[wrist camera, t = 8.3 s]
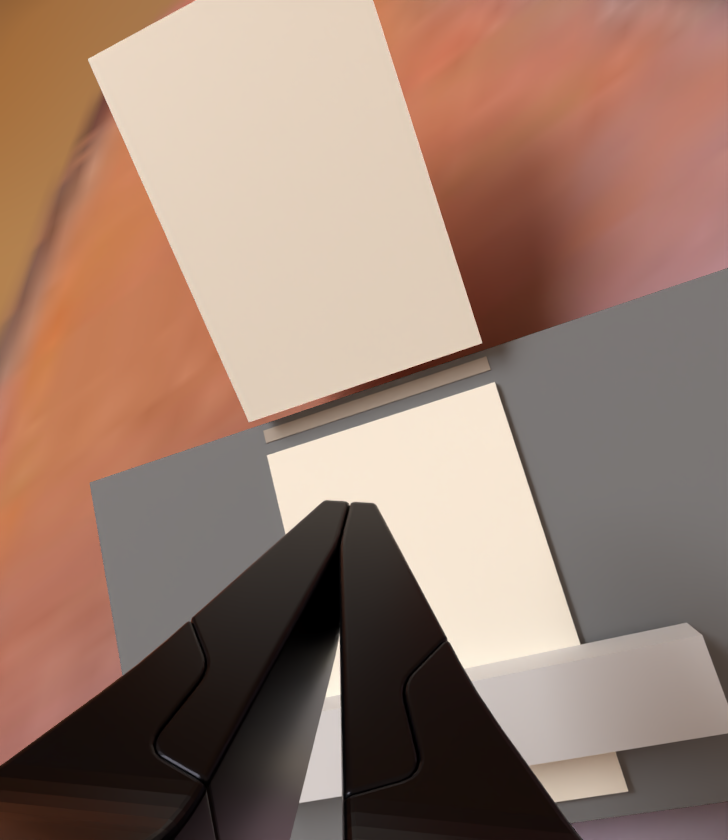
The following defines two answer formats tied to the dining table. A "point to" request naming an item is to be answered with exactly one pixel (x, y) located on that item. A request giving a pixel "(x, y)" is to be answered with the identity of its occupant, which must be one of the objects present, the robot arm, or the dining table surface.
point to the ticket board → (499, 542)
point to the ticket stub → (290, 193)
